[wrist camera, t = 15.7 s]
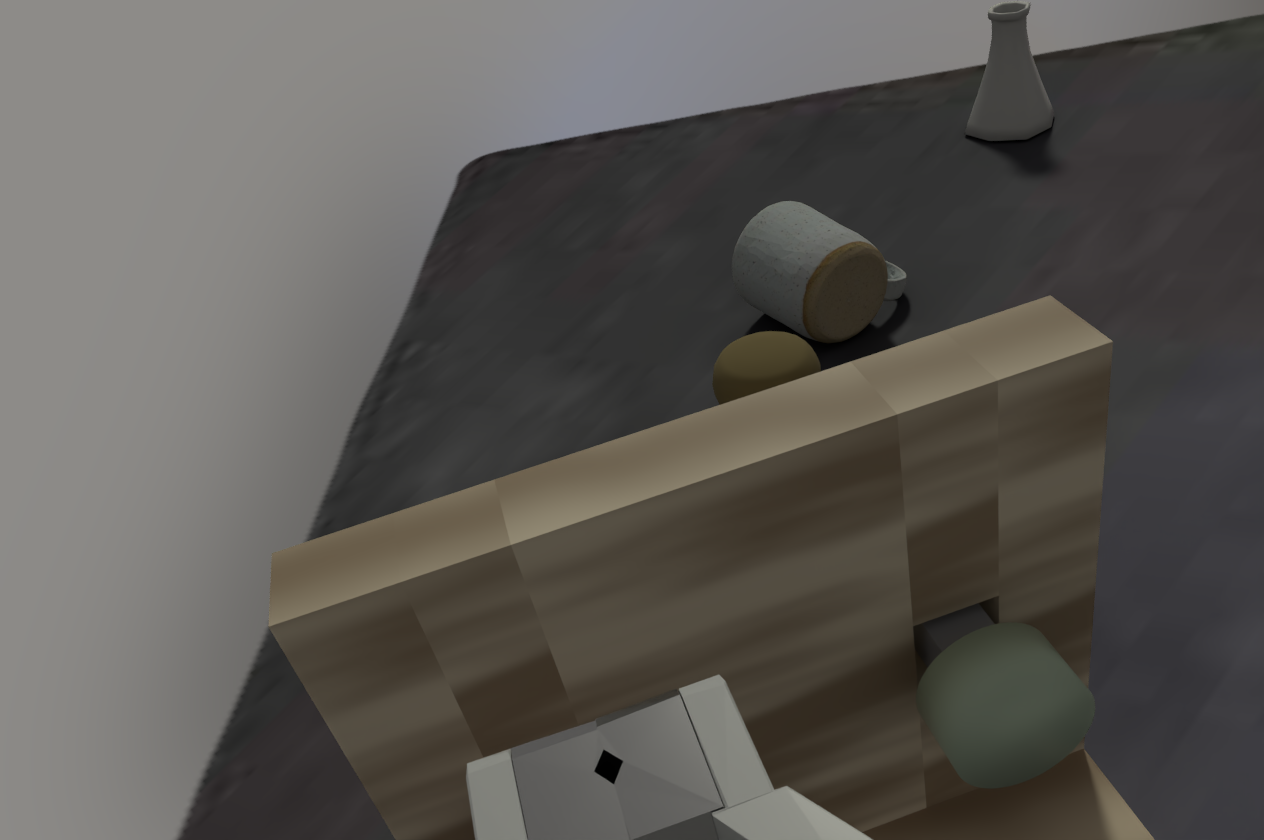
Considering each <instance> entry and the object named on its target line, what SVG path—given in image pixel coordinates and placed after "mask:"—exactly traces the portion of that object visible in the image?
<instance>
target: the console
mask: <svg viewBox="0 0 1264 840" xmlns="http://www.w3.org/2000/svg"><path fill="white" fill-rule="evenodd" d="M1112 346H1113V341H1111V340H1110V339H1109V338H1107V337H1106V336H1105V335H1103V334H1102V333H1101V332H1099V331H1098V330H1097V329H1095V328H1094V327H1092V326H1091V325H1090V324H1088V323H1087V322H1086V321H1084V320H1083V319H1082V318H1080V317H1079V316H1077V315H1076V314H1075V313H1073V312H1072V311H1071V310H1069V309H1068V308H1067V307H1065V306H1064V305H1062V304H1061V303H1060V302H1058V301H1057V300H1056V299H1054V298H1053V297H1052V296H1047V297H1044V298H1041V299H1038V300H1035V301H1032V302H1029V303H1026V304H1023V305H1020V306H1017V307H1014V308H1011V309H1008V310H1005V311H1002V312H999V313H996V314H993V315H990V316H987V317H984V318H981V319H978V320H975V321H972V322H969V323H966V324H963V325H960V326H957V327H954V328H951V329H948V330H945V331H942V332H939V333H936V334H933V335H930V336H927V337H924V338H921V339H917V340H914V341H911V342H908V343H905V344H902V345H899V346H896V347H893V348H890V349H887V350H884V351H881V352H878V353H875V354H872V355H869V356H866V357H863V358H860V359H857V360H854V361H851V362H848V363H845V364H842V365H839V366H836V367H833V368H830V369H827V370H824V371H821V372H818V373H815V374H812V375H809V376H806V377H803V378H800V379H797V380H794V381H791V382H788V383H785V384H782V385H779V386H776V387H773V388H770V389H767V390H764V391H761V392H758V393H755V394H752V395H748V396H745V397H742V398H739V399H736V400H733V401H730V402H727V403H724V404H721V405H718V406H715V407H712V408H709V409H706V410H703V411H700V412H697V413H694V414H691V415H688V416H685V417H682V418H679V419H676V420H673V421H670V422H667V423H664V424H661V425H658V426H655V427H652V428H649V429H646V430H643V431H640V432H637V433H634V434H631V435H628V436H625V437H622V438H619V439H616V440H613V441H610V442H607V443H604V444H601V445H598V446H595V447H592V448H589V449H586V450H583V451H579V452H576V453H573V454H570V455H567V456H564V457H561V458H558V459H555V460H552V461H549V462H546V463H543V464H540V465H537V466H534V467H531V468H528V469H525V470H522V471H519V472H516V473H513V474H510V475H507V476H504V477H501V478H498V479H495V480H492V481H489V482H486V483H483V484H480V485H477V486H474V487H471V488H468V489H465V490H462V491H459V492H456V493H453V494H450V495H447V496H444V497H441V498H438V499H435V500H432V501H429V502H426V503H423V504H420V505H417V506H414V507H410V508H407V509H404V510H401V511H398V512H395V513H392V514H389V515H386V516H383V517H380V518H377V519H374V520H371V521H368V522H365V523H362V524H359V525H356V526H353V527H350V528H347V529H344V530H341V531H338V532H335V533H332V534H329V535H326V536H323V537H320V538H317V539H314V540H311V541H308V542H305V543H302V544H299V545H296V546H293V547H290V548H287V549H284V550H281V551H278V552H275V553H272V565H271V586H270V607H269V628H270V630H271V632H272V633H273V635H274V637H275V638H276V640H277V642H278V643H279V645H280V647H281V648H282V650H283V652H284V653H285V655H286V657H287V658H288V660H289V662H290V663H291V665H292V667H293V668H294V670H295V672H296V673H297V675H298V677H299V678H300V680H301V682H302V684H303V685H304V687H305V689H306V690H307V692H308V694H309V695H310V697H311V699H312V700H313V702H314V704H315V705H316V707H317V709H318V710H319V712H320V714H321V715H322V717H323V719H324V720H325V722H326V724H327V725H328V727H329V729H330V730H331V732H332V734H333V735H334V737H335V739H336V740H337V742H338V744H339V745H340V747H341V749H342V750H343V752H344V754H345V755H346V757H347V759H348V760H349V762H350V764H351V765H352V767H353V769H354V771H355V772H356V774H357V776H358V777H359V779H360V781H361V782H362V784H363V786H364V787H365V789H366V791H367V792H368V794H369V796H370V797H371V799H372V801H373V802H374V804H375V806H376V807H377V809H378V811H379V812H380V814H381V816H382V817H383V819H384V821H385V822H386V824H387V826H388V827H389V829H390V831H391V832H392V834H393V836H394V837H395V839H396V840H475V834H474V828H473V821H472V815H471V808H470V801H469V795H468V788H467V782H466V771H467V763H470V762H473V761H476V760H478V759H481V758H484V757H487V756H490V755H493V754H496V753H499V752H502V751H505V750H508V749H511V748H513V747H516V746H519V745H522V744H525V743H528V742H531V741H534V740H537V739H540V738H543V737H547V736H550V735H553V734H556V733H559V732H562V731H565V730H568V729H571V728H574V727H577V726H580V725H583V724H586V723H589V722H592V721H595V719H596V718H599V717H601V716H604V715H607V714H610V713H612V712H615V711H618V710H620V709H623V708H626V707H628V706H631V705H634V704H636V703H639V702H642V701H645V700H647V699H650V698H653V697H655V696H658V695H661V694H663V693H666V692H669V691H671V690H674V689H677V691H678V690H679V688H682V687H685V686H688V685H691V684H694V683H696V682H699V681H702V680H705V679H708V678H710V677H713V676H716V675H720V676H721V677H722V678H723V679H724V680H725V681H726V684H727V686H728V688H729V690H730V693H731V695H732V697H733V699H734V701H735V704H736V706H737V708H738V710H739V712H740V715H741V717H742V719H743V721H744V724H745V726H746V728H747V730H748V732H749V735H750V737H751V739H752V741H753V744H754V746H755V748H756V750H757V752H758V755H759V757H760V759H761V761H762V764H763V766H764V768H765V770H766V772H767V775H768V777H769V779H770V781H771V784H772V786H773V788H774V790H775V789H778V788H781V787H785V786H788V787H790V788H791V789H793V790H795V791H796V792H798V793H799V794H801V795H803V796H804V797H806V798H807V799H809V800H811V801H812V802H814V803H815V804H817V805H819V806H820V807H822V808H823V809H825V810H827V811H828V812H830V813H831V814H833V815H835V816H836V817H838V818H839V819H841V820H843V821H844V822H846V823H847V824H849V825H851V826H852V827H854V828H855V829H857V830H859V831H860V832H862V833H863V834H865V835H867V836H868V837H870V838H871V839H873V840H1154V838H1153V837H1152V836H1151V835H1150V833H1149V832H1148V831H1147V829H1146V828H1145V827H1144V826H1143V824H1142V823H1141V822H1140V820H1139V819H1138V818H1137V817H1136V815H1135V814H1134V813H1133V811H1132V810H1131V809H1130V808H1129V806H1128V805H1127V804H1126V802H1125V801H1124V800H1123V798H1122V797H1121V796H1120V795H1119V793H1118V792H1117V791H1116V789H1115V788H1114V787H1113V786H1112V784H1111V783H1110V782H1109V780H1108V779H1107V778H1106V777H1105V775H1104V774H1103V773H1102V771H1101V770H1100V769H1099V768H1098V766H1097V765H1096V764H1095V762H1094V761H1093V760H1092V759H1091V757H1090V756H1089V755H1088V753H1087V752H1086V751H1085V750H1084V738H1085V736H1084V738H1083V739H1082V740H1081V742H1080V743H1079V744H1078V745H1077V746H1076V747H1075V749H1074V750H1073V751H1072V752H1071V753H1070V754H1068V755H1067V756H1066V757H1065V758H1064V759H1063V760H1061V761H1060V762H1059V763H1058V764H1056V765H1055V766H1053V767H1052V768H1050V769H1049V770H1047V771H1045V772H1044V773H1042V774H1040V775H1038V776H1036V777H1034V778H1032V779H1030V780H1027V781H1025V782H1022V783H1019V784H1016V785H1012V786H1008V787H1002V788H992V789H989V788H979V787H975V786H972V785H970V784H968V783H966V782H965V781H963V780H962V779H961V778H960V776H959V775H958V774H957V772H956V770H955V769H954V767H953V766H952V764H951V763H950V761H949V759H948V758H947V756H946V755H945V753H944V752H943V750H942V748H941V747H940V745H939V744H938V742H937V741H936V739H935V737H934V736H933V734H932V733H931V731H930V729H929V728H928V726H927V725H926V723H925V722H924V720H923V718H922V717H921V715H920V714H919V712H918V709H917V706H916V693H917V688H918V685H919V682H920V680H921V678H922V676H923V674H924V673H925V671H926V670H927V666H926V665H925V663H924V662H923V660H922V659H921V657H920V656H919V654H918V653H917V652H916V650H915V646H914V633H913V626H915V625H918V624H921V623H924V622H927V621H929V620H932V619H935V618H938V617H941V616H943V615H946V614H949V613H952V612H954V611H957V610H960V609H963V608H966V607H968V606H971V605H974V604H977V603H979V605H980V606H981V607H982V608H983V610H984V611H985V612H986V614H987V615H988V616H989V617H990V619H991V620H992V621H993V622H994V624H999V623H1007V622H1017V623H1024V624H1027V625H1031V626H1033V627H1035V628H1036V629H1038V630H1039V631H1040V632H1041V633H1042V634H1043V635H1044V636H1045V638H1046V639H1047V640H1048V641H1049V642H1050V644H1051V645H1052V646H1053V647H1054V648H1055V650H1056V651H1057V652H1058V653H1059V654H1060V656H1061V657H1062V658H1063V659H1064V660H1065V662H1066V663H1067V664H1068V665H1069V666H1070V668H1071V669H1072V670H1073V671H1074V672H1075V674H1076V675H1077V676H1078V677H1079V679H1080V680H1081V681H1082V682H1083V683H1084V685H1085V686H1086V687H1087V688H1088V682H1089V668H1090V654H1091V640H1092V626H1093V612H1094V598H1095V584H1096V570H1097V556H1098V542H1099V528H1100V514H1101V500H1102V486H1103V472H1104V458H1105V444H1106V430H1107V416H1108V402H1109V388H1110V374H1111V360H1112Z"/></svg>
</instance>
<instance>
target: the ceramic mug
mask: <svg viewBox="0 0 1264 840" xmlns="http://www.w3.org/2000/svg"><path fill="white" fill-rule="evenodd" d="M732 277H733V281H734V284H735V287H736V289H737V291H738V293H739V295H740V296H741V298H742V299H743V300H745V301H746V302H747V303H748V304H750V305H751V306H753V307H755V308H757V309H758V310H760V311H762V312H763V313H765V314H767V315H768V316H770V317H772V318H774V319H775V320H777V321H779V322H781V323H783V324H785V325H786V326H788V327H790V328H791V329H793V330H794V331H796V332H797V333H799V334H801V335H803V336H804V337H807V338H810V339H812V340H815V341H818V342H823V343H837V342H842V341H845V340H847V339H849V338H851V337H853V336H855V335H857V334H858V333H859V332H861V331H862V330H863V329H864V328H865V327H866V326H867V325H868V324H869V323H870V322H871V321H872V320H873V318H874V317H875V315H876V314H877V312H878V310H879V309H880V307H881V305H882V302H883V301H891V300H895V299H898V298H899V297H901V295H902V293H903V290H904V287H905V283H906V273H905V272H904V271H903V270H902V269H900V268H898V267H897V266H895V265H893V264H891V263H889V262H887V261H885V260H884V258H883V256H882V254H881V253H880V252H879V251H878V250H877V249H876V247H875V246H874V245H872V244H871V243H870V242H869V241H868V240H866V239H865V238H864V237H862V236H861V235H859V234H857V233H856V232H854V231H852V230H850V229H848V228H846V227H844V226H842V225H840V224H838V223H836V222H835V221H833V220H831V219H830V218H828V217H826V216H824V215H823V214H821V213H819V212H818V211H816V210H814V209H813V208H811V207H809V206H807V205H805V204H803V203H799V202H793V201H783V202H779V203H776V204H773V205H770V206H768V207H767V208H765V209H764V210H762V211H760V212H759V213H758V214H757V215H756V216H755V217H754V218H753V219H752V220H751V221H750V222H749V223H748V224H747V226H746V227H745V229H744V230H743V232H742V234H741V235H740V237H739V240H738V242H737V244H736V247H735V250H734V254H733V259H732Z"/></svg>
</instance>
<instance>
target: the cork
mask: <svg viewBox="0 0 1264 840" xmlns="http://www.w3.org/2000/svg"><path fill="white" fill-rule="evenodd" d="M818 372H821V366H820V362H819V360H818V357H817V355H816V353H815V352H814V350H813V349H812V347H811V346H810V345H809V344H808V343H807V342H806V341H805V340H803V339H802V338H800V337H798V336H797V335H794V334H790V333H787V332H778V331H765V332H757V333H754V334H750V335H747V336H744V337H742V338H740V339H738V340H736V341H734V342H732V343H731V344H729V345H728V346H727V347H726V348H725V349H723V351H722V352H721V354H720V356H719V357H718V359H717V361H716V363H715V365H714V374H713V389H714V393H715V396H716V398H717V400H718V402H719V404H720V405H721V404H724V403H727V402H730V401H733V400H736V399H739V398H742V397H745V396H748V395H752V394H755V393H758V392H761V391H764V390H767V389H770V388H773V387H776V386H779V385H782V384H785V383H788V382H791V381H794V380H797V379H800V378H803V377H806V376H809V375H812V374H815V373H818Z"/></svg>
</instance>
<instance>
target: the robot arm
mask: <svg viewBox="0 0 1264 840" xmlns="http://www.w3.org/2000/svg"><path fill="white" fill-rule="evenodd" d="M466 782H467V788H468V795H469V801H470V808H471V815H472V821H473V828H474V834H475V840H873V839H871V838H870V837H868V836H867V835H865V834H863V833H862V832H860V831H859V830H857V829H855V828H854V827H852V826H851V825H849V824H847V823H846V822H844V821H843V820H841V819H839V818H838V817H836V816H835V815H833V814H831V813H830V812H828V811H827V810H825V809H823V808H822V807H820V806H819V805H817V804H815V803H814V802H812V801H811V800H809V799H807V798H806V797H804V796H803V795H801V794H799V793H798V792H796V791H795V790H793V789H791V788H790V787H788V786H785V787H781V788H778V789H775V790H774V788H773V786H772V784H771V781H770V779H769V777H768V775H767V772H766V770H765V768H764V766H763V764H762V761H761V759H760V757H759V755H758V752H757V750H756V748H755V746H754V744H753V741H752V739H751V737H750V735H749V732H748V730H747V728H746V726H745V724H744V721H743V719H742V717H741V715H740V712H739V710H738V708H737V706H736V704H735V701H734V699H733V697H732V695H731V693H730V690H729V688H728V686H727V684H726V681H725V680H724V679H723V678H722V677H721V676H720V675H716V676H713V677H710V678H708V679H705V680H702V681H699V682H696V683H694V684H691V685H688V686H685V687H682V688H679V690H678V691H677V689H674V690H671V691H669V692H666V693H663V694H661V695H658V696H655V697H653V698H650V699H647V700H645V701H642V702H639V703H636V704H634V705H631V706H628V707H626V708H623V709H620V710H618V711H615V712H612V713H610V714H607V715H604V716H601V717H599V718H596V719H595V721H592V722H589V723H586V724H583V725H580V726H577V727H574V728H571V729H568V730H565V731H562V732H559V733H556V734H553V735H550V736H547V737H543V738H540V739H537V740H534V741H531V742H528V743H525V744H522V745H519V746H516V747H513V748H511V749H508V750H505V751H502V752H499V753H496V754H493V755H490V756H487V757H484V758H481V759H478V760H476V761H473V762H470V763H467V771H466Z"/></svg>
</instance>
